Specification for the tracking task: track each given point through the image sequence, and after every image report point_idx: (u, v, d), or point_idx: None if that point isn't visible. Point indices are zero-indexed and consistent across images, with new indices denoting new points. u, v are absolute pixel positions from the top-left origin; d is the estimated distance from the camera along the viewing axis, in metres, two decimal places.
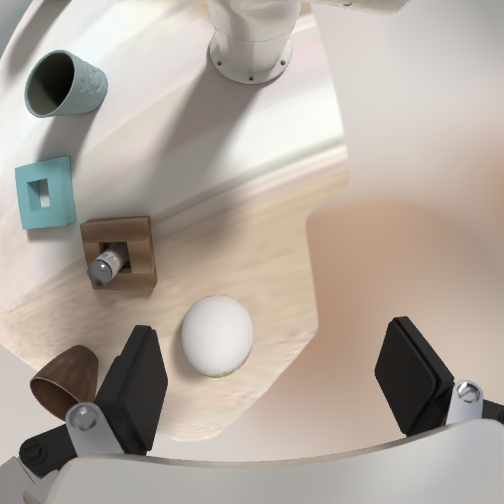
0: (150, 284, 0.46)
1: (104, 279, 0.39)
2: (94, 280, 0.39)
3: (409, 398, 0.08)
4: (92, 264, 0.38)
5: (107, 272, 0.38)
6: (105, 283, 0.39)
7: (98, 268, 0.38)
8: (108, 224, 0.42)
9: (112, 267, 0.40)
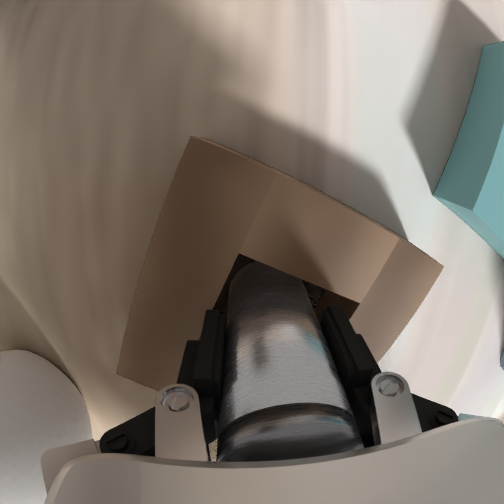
0: (136, 379, 0.13)
1: None
2: (274, 451, 0.05)
3: None
4: None
5: None
6: None
7: None
8: None
9: None
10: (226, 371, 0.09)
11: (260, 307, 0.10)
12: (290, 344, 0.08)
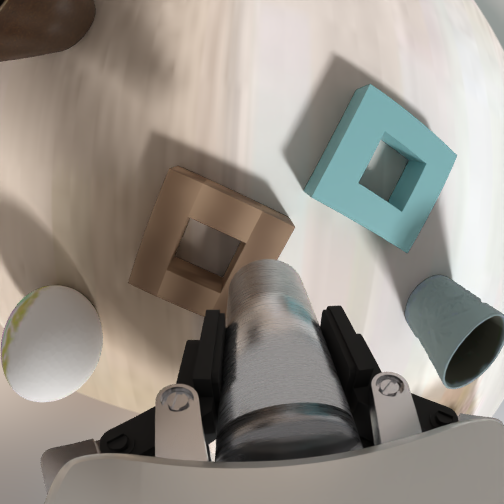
0: (138, 286, 0.27)
1: None
2: (273, 451, 0.05)
3: None
4: None
5: None
6: None
7: None
8: None
9: None
10: (225, 371, 0.09)
11: (259, 307, 0.10)
12: (289, 344, 0.08)
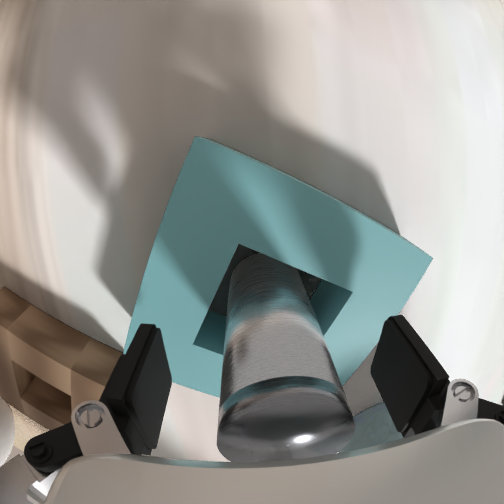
0: (9, 403, 0.17)
1: (247, 452, 0.07)
2: (270, 421, 0.06)
3: (403, 397, 0.08)
4: (344, 437, 0.07)
5: None
6: (226, 448, 0.07)
7: (310, 450, 0.07)
8: None
9: None
10: (227, 352, 0.10)
11: (258, 295, 0.11)
12: (286, 326, 0.09)
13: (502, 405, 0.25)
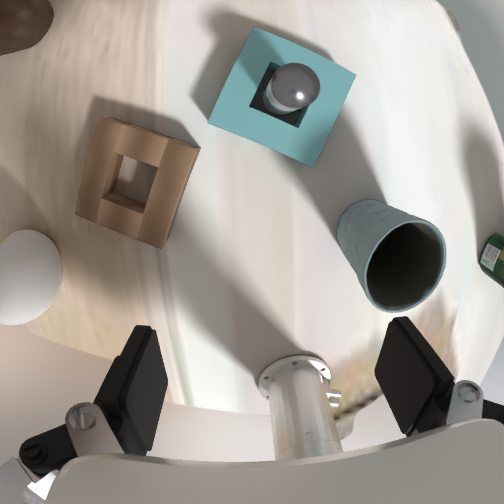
0: (82, 216, 0.30)
1: (282, 89, 0.20)
2: (289, 69, 0.20)
3: (408, 398, 0.08)
4: (317, 86, 0.20)
5: (291, 103, 0.21)
6: (275, 86, 0.20)
7: (305, 91, 0.20)
8: (175, 199, 0.30)
9: (289, 108, 0.22)
10: None
11: None
12: None
13: None
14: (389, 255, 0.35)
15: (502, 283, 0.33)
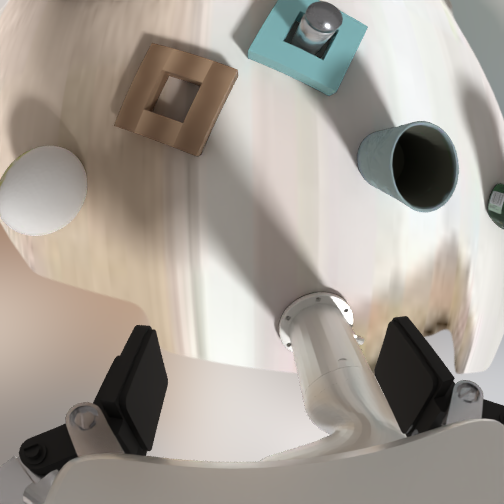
0: (121, 126, 0.31)
1: (314, 17, 0.22)
2: (319, 5, 0.21)
3: (409, 398, 0.08)
4: (340, 18, 0.22)
5: (321, 26, 0.22)
6: (308, 14, 0.22)
7: (332, 20, 0.22)
8: (215, 109, 0.31)
9: (318, 33, 0.24)
10: None
11: None
12: None
13: None
14: (406, 180, 0.35)
15: None
